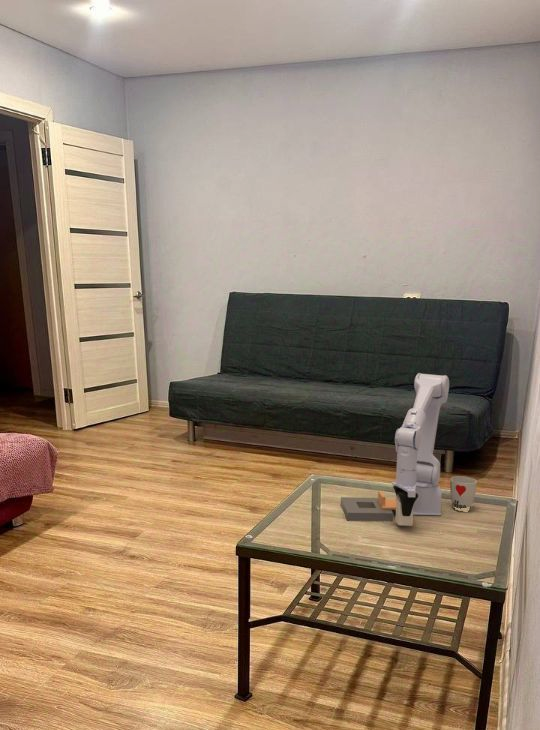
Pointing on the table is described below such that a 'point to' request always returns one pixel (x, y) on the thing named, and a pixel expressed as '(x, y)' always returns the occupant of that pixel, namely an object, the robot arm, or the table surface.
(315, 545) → the table surface
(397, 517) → the beige rectangular block
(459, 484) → the cup
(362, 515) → the socket housing
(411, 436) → the robot arm
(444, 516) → the table surface
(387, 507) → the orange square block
